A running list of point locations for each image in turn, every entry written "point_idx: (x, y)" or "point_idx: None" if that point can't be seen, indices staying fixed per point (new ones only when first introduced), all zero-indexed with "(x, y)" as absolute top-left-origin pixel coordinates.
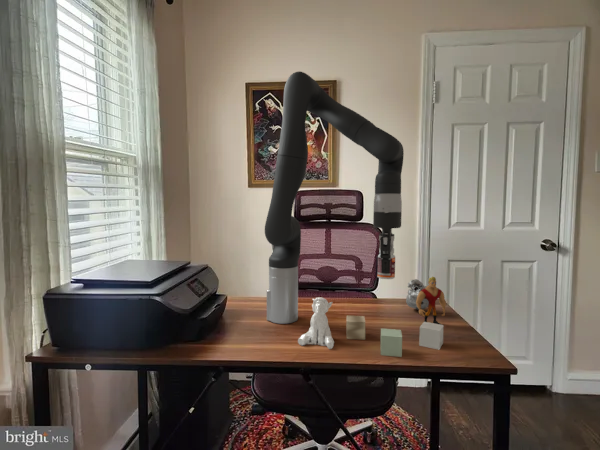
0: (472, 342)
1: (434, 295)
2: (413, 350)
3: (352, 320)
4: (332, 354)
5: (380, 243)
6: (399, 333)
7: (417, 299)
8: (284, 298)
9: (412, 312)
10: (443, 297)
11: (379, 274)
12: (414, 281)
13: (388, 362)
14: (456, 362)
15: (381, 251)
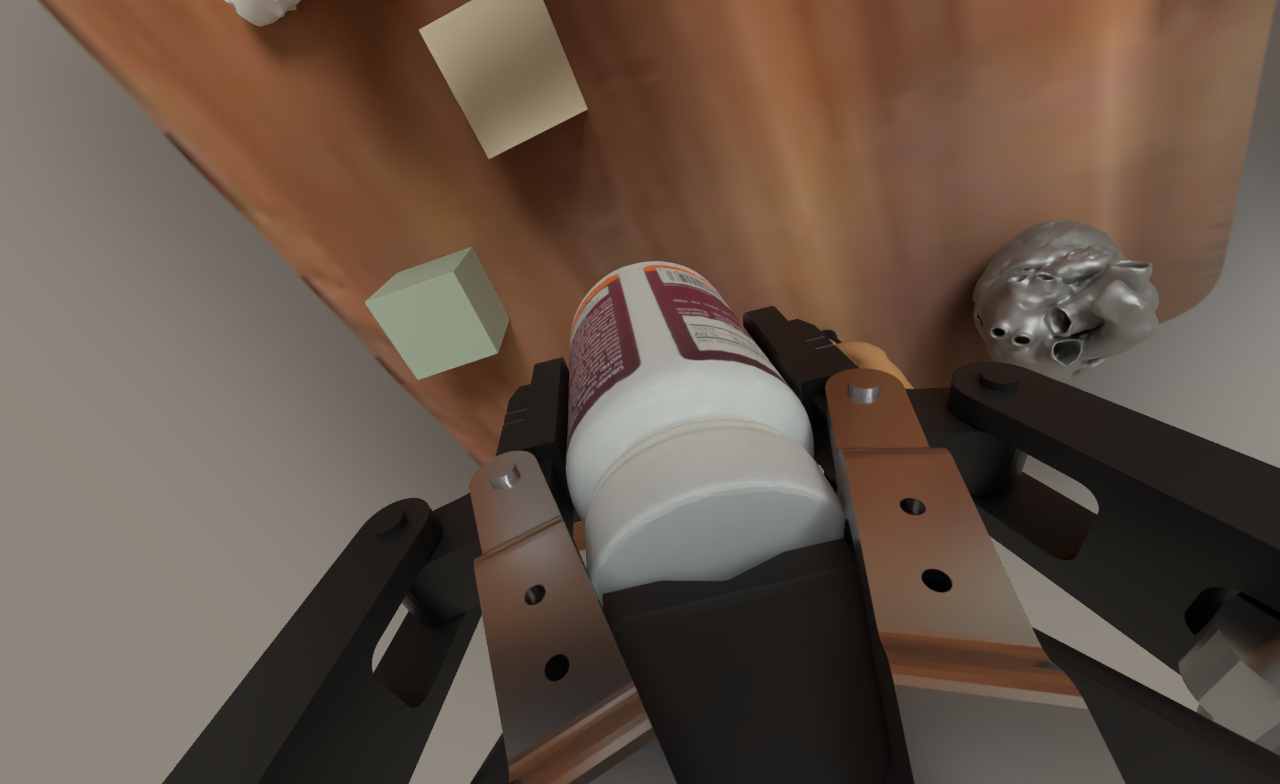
0: None
1: None
2: (523, 360)
3: (459, 65)
4: (212, 60)
5: (504, 686)
6: (451, 359)
7: (868, 358)
8: None
9: (979, 249)
10: None
11: (579, 314)
12: (1121, 323)
13: (359, 317)
14: None
15: (301, 626)
